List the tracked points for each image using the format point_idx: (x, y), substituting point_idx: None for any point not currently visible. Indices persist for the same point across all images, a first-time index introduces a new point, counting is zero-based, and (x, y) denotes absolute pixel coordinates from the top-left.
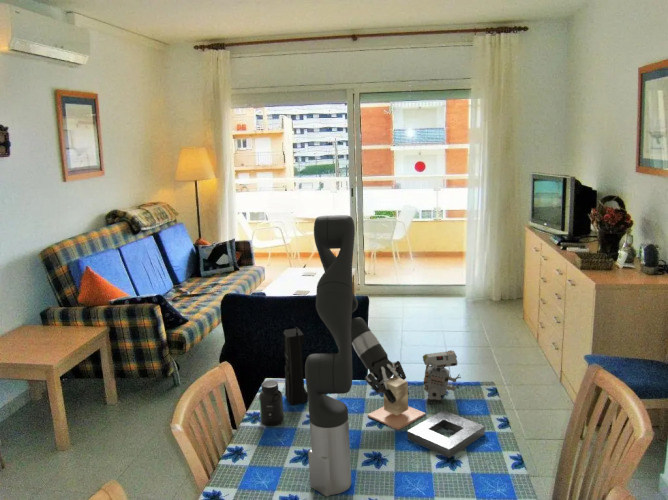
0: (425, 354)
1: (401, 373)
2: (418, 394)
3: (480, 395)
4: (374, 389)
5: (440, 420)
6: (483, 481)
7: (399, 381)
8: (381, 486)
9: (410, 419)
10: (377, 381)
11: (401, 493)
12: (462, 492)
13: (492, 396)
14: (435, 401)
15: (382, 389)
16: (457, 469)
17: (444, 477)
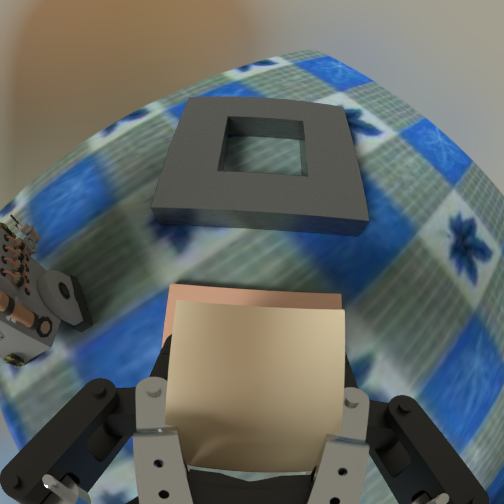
0: None
1: (90, 421)
2: (56, 391)
3: (13, 222)
4: (404, 453)
5: (229, 174)
6: (341, 78)
7: (229, 359)
8: (483, 185)
9: (253, 300)
10: (427, 456)
11: (464, 153)
12: (387, 91)
13: (14, 199)
14: (79, 295)
15: (403, 396)
16: (352, 106)
17: (388, 115)
